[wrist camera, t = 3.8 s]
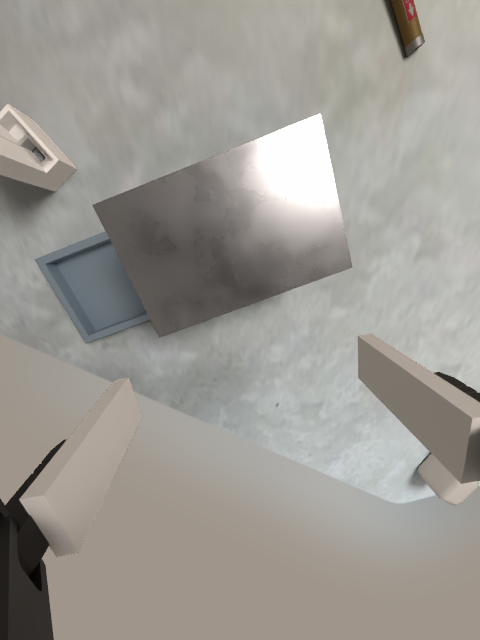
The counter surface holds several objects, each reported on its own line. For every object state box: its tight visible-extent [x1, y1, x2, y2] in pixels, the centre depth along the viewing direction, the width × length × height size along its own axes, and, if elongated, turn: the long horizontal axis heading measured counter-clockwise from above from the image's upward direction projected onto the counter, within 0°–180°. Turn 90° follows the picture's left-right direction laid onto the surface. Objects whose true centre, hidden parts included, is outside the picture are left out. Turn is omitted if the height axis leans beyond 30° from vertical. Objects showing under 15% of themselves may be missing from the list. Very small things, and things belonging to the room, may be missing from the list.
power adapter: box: [418, 453, 478, 505], centre depth 40 cm, size 11×5×6 cm, turn 153°
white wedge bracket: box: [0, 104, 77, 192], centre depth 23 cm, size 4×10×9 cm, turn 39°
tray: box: [35, 232, 150, 343], centre depth 30 cm, size 11×11×2 cm
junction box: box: [93, 114, 352, 337], centre depth 24 cm, size 11×17×13 cm, turn 110°
